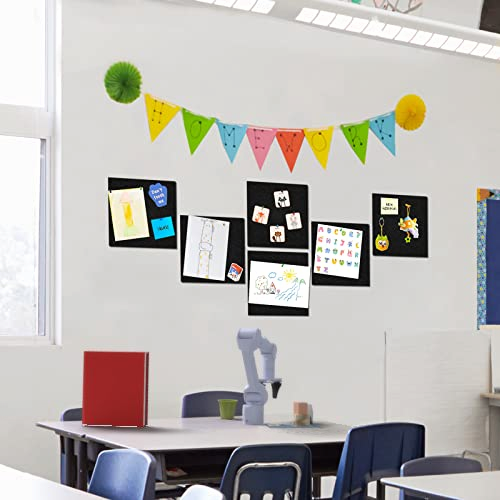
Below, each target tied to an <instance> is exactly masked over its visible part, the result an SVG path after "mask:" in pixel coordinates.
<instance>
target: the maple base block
mask: <svg viewBox="0 0 500 500" xmlns="http://www.w3.org/2000/svg"><path fill="white" fill-rule="evenodd" d="M293 424H294V425H295V426H310V424H311V423H310V415H309V414H300V415H298V414H294V413H293Z"/></svg>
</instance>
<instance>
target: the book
mask: <svg viewBox="0 0 500 500" xmlns="http://www.w3.org/2000/svg"><path fill="white" fill-rule="evenodd" d="M82 362H83V363H82V364H83V368H82V370H83V371H82V409H81V411H82V412H81V425H82V424H87V425H112V426H137V427H143V428H144V427H147V426H146V425H148V424H149V423H148V419H149V417H148V416H149V381H150V380H149V379H150V378H149V375H150V374H149V372H150V367H149V366H150V351H130V350H129V351H128V350H126V351H123V350H122V351H117V350H84V351H83V361H82ZM144 425H145V426H144ZM148 426H149V425H148Z"/></svg>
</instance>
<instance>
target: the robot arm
mask: <svg viewBox="0 0 500 500" xmlns="http://www.w3.org/2000/svg"><path fill="white" fill-rule="evenodd" d="M235 337H236V342H237V343H236V344H237V346H238V347H237V348H238V349H239V350H240V351H241V355H242V360H243V366H244V370H245V374H246V375H245V376H246V379H247V384H246V385H245V387H244V388H243V400H244V402H245V403H246V404H243V405H242V409H241V410H242V412H241V413H242V414H241V415H242V417H241V420H242V422H241V423H242V424H243V425H244V426H245V425H246V426H251V425H252V426H256V425H258V426H261V425H262V426H263V425H264V426H265V424H266V423H265V422H264V421H265V420H264V419H265V416H264V415H265V414H264V413H265V410H264V409H265V405H266V403H267V402H268V400H269V393H268V391H267V389H266V386H267V384H271V392H272V393H271V395H272V399H274V400H275V399H278V395H279V391H280V388H281V387H282V384H283V381H282V379H283V378H281V377H275V372H276V371H275V370H276V369H275V368H276V366H275V365H276V358H277V352H278V349H277V348H278V347H277V344H276V343H274V342H271V341H270V340H269V339H268V337H266V336H263V335H262V331H261V329H260V328H241V327H239V328H238V330H237V331H236V336H235ZM258 349H259V351H260V355H261V356H262V358H261V359H262V361H261V362H262V364H261V367H262V369H261V370H262V371H261V374H262V375H261V376H262V377H261V378H259V373H258V368H257V363H256V360H255V359H256V358H255V353H254V352H255V351H257V350H258Z"/></svg>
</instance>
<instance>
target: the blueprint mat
mask: <svg viewBox="0 0 500 500" xmlns="http://www.w3.org/2000/svg"><path fill="white" fill-rule="evenodd" d="M264 426H265V427H267V428H269V429H325V427H323V426H322V425H319V424H317V423H310V426H295V425H294V423H293V424H292V423H290V424H289V423H273V424H272V423H269V424H267V423H265V425H264Z"/></svg>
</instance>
